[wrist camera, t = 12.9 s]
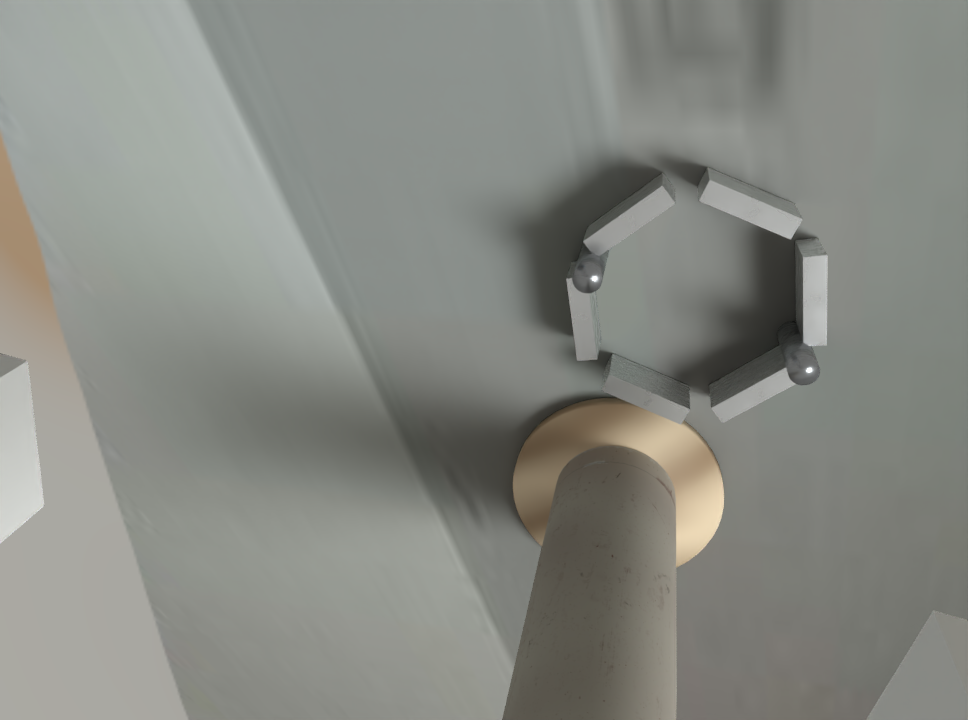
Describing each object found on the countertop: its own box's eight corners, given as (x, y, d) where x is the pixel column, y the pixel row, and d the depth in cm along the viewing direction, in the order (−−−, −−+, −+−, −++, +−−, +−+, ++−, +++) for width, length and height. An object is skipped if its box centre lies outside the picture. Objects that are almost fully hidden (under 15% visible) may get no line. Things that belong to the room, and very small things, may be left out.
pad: (475, 460, 55) (472, 468, 55) (642, 359, 49) (641, 366, 49) (594, 596, 59) (593, 605, 58) (764, 516, 53) (766, 526, 52)
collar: (526, 270, 48) (511, 300, 44) (737, 119, 42) (744, 137, 38) (656, 433, 52) (655, 476, 47) (871, 315, 45) (892, 352, 41)
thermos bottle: (687, 536, 53) (698, 1020, 29) (572, 549, 56) (493, 1004, 31) (661, 436, 50) (649, 878, 26) (541, 454, 53) (427, 873, 28)
